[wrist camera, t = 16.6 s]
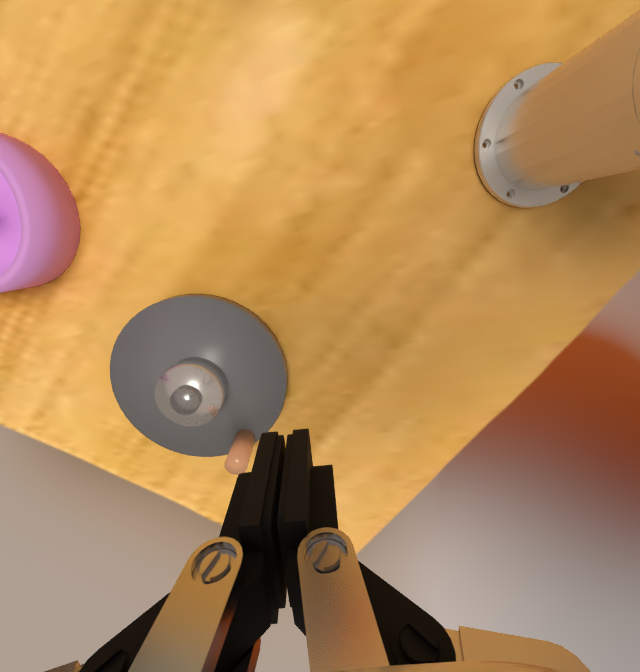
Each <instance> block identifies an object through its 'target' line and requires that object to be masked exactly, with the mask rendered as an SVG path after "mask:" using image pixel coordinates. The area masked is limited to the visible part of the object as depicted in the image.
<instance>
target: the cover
mask: <svg viewBox="0 0 640 672" xmlns="http://www.w3.org/2000/svg"><path fill="white" fill-rule="evenodd" d="M227 393H228V382H227V378H226V376H225V374H224V373H223V371H222V370H221V369H220V368H219V367H218V366H217V365H216V364H215V363H213V362H212V361H210V360H207V359H204V358H200V357H189V358H185V359H182V360H180V361H178V362H177V363H176V364H174V365H173V366H172V367H171V368H170V369H169V370H168V371H167V372H166V373H165V374H163V375H162V376H161V378H160V379H159V380H158V382H157V384H156V387H155V400H156V403H157V406H158V408H159V409H160V411H161V412H162V413H163V414H164V416H166V417H167V418H168V419H169V420H171V421H173V422H175V423H177V424H180V425H183V426H199V425H203V424H205V423H207V422H209V421H210V420H212V419H213V418H214V417H215V416H216V414H217V413H218V411H219V409H220V408H221V406H222V404H223V402H224V400H225V398H226V396H227Z"/></svg>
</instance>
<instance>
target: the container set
mask: <svg viewBox="0 0 640 672" xmlns="http://www.w3.org/2000/svg"><path fill="white" fill-rule="evenodd" d="M79 241H80V220H79V213H78V209H77V206H76V203H75V200H74V197H73V195H72V193H71V191H70V189H69V187H68V185H67V183H66V182H65V180H64V179H63V177H62V176H61V175H60V173H59V172H58V170H57V169H56V168H55V167H54V166H53V165H52V164H51V163H50V162H49V161H48V160H47V159H46V158H45V157H44V156H43V155H42V154H40V153H39V152H38V151H36V150H35V149H34V148H32V147H31V146H30V145H28V144H26V143H24V142H22V141H20V140H18V139H16V138H14V137H11V136H8V135H5V134H2V133H0V293H1V292H7V291H13V290H18V289H24V288H30V287H36V286H40V285H43V284H46V283H48V282H51V281H52V280H54V279H55V278H57V277H59V276H60V275H61V274H62V273H63V272H64V271H65V270H66V269H67V268H68V267H69V266H70V264H71V262H72V261H73V259H74V257H75V255H76V252H77V249H78V246H79Z"/></svg>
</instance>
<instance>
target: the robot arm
mask: <svg viewBox="0 0 640 672" xmlns="http://www.w3.org/2000/svg"><path fill="white" fill-rule="evenodd" d="M514 86H515V88H514ZM482 144H484V148H483V146H482ZM474 153H475V163H476V167H477V171H478V174H479V177H480V179H481V181H482V182H483V184H484V186H485V187H486V189H487V190H488V191H489V192H490V193H491V194H492V195H493V196H494V197H495V198H497V199H498V200H499V201H501V202H503V203H505V204H507V205H510V206H514V207H519V208H532V207H539V206H544V205H547V204H551V203H553V202H555V201H557V200H559V199H561V198H563V197H565V196H566V195H568V194H569V193H571V192H572V191H573V190H575V189H576V188H577V187H578V186H579V185H580V184H581V183H582V182H583V181H586V180H591V179H596V178H600V177H605V176H610V175H615V174H619V173H624V172H629V171H633V170H638V169H640V10H639V11H637V12H636V13H635V14H633V15H632V16H630V17H629V18H627V19H626V20H625V21H623V22H622V23H620V24H619V25H617V26H616V27H615V28H613V29H612V30H610V31H609V32H607V33H606V34H605V35H603V36H602V37H600V38H599V39H597V40H596V41H595V42H593V43H592V44H590V45H589V46H587V47H586V48H584V49H583V50H582V51H580V52H579V53H577V54H576V55H574V56H573V57H572V58H570V59H569V60H567V61H566V62H564V63H544V64H540V65H536V66H533V67H531V68H529V69H526V70H524V71H522V72H521V73H519V74H518V75H517V76H515V77H514V78H512V79H511V80H510V81H508V82H507V83H506V84H505V85H504V86H503V87H501V89H500V90H499V91H498V92H497V93H496V94H495V95H494V97H493V98H492V99H491V101H490V102H489V104H488V105H487V107H486V109H485V110H484V113H483V115H482V117H481V120H480V122H479V125H478V129H477V133H476V137H475V148H474ZM507 193H508V196H507ZM287 590H288V596H289V602H290V607H292V610H293V616H294V622H295V625H296V626H297V627H298V628H299V629H300V630H301V631H302V632H303V634H304V635H305V636H306V638H307V647H308V655H309V664H310V672H590V670H589V669H588V668H587V667H586V666H585V665H584V664H583V663H582V662H581V661H580V660H579V658H578V657H577V656H575V655H574V654H573V653H571V652H570V651H568V650H567V649H565V648H564V647H562V646H560V645H557V644H554V643H551V642H548V641H543V640H537V639H532V638H526V637H520V636H514V635H509V634H503V633H497V632H492V631H486V630H479V629H474V628H469V627H463V626H459V631H456V630H450V629H444V627H443V626H442V625H441V624H439V622H437V621H436V620H435V619H434V618H433V617H432V616H430V615H429V614H428V613H426V612H425V611H424V610H422V609H421V608H420V607H419V606H417V605H416V604H415V603H413V602H412V601H411V600H409V599H408V598H407V597H405V596H404V595H403V594H401V593H400V592H399V591H397V590H396V589H394V588H393V587H392V586H391V585H389V584H388V583H387V582H385V581H384V580H383V579H381V578H380V577H379V576H378V575H376V574H375V573H373V572H372V571H371V570H370V569H368V568H367V567H366V566H364V565H363V564H362V563H360V562H359V561H358V560H357V557H356V553H355V550H354V547H353V544H352V542H351V540H350V538H349V537H348V536H347V535H346V534H345V533H344V532H342V531H340V530H338V521H337V510H336V499H335V488H334V477H333V467H332V465H324V466H313V462H312V454H311V445H310V436H309V429H299V430H293V434H290V435H288V436H287V443H286V448H285V440H284V436H283V435H278V432H267V433H262V434H261V437H260V441H259V445H258V449H257V453H256V457H255V460H254V464H253V468H252V472H248V473H240V474H239V476H238V478H237V481H236V484H235V488H234V491H233V494H232V497H231V500H230V504H229V507H228V510H227V513H226V516H225V520H224V523H223V526H222V529H221V532H220V536H219V537H218V538H215V539H212V540H209V541H207V542H205V543H204V544H203V545H201V546H200V547H198V548H197V549H196V550H195V551H194V552H193V554H192V555H191V556H190V558H189V559H188V561H187V563H186V564H185V567H184V568H183V570H182V572H181V574H180V576H179V577H178V579H177V581H176V583H175V585H174V587H173V589H172V590H171V592H170V593H169V594H167V595H166V596H165V597H163V598H162V599H161V600H160V601H158V602H157V603H156V604H155V605H153V606H152V607H151V608H150V609H149V610H147V611H146V612H145V613H143V614H142V615H141V616H140V617H138V618H137V619H136V620H135V621H133V622H132V623H131V624H130V625H128V626H127V627H126V628H125V629H123V630H122V631H121V632H120V633H118V634H117V635H116V636H115V637H114V638H112V639H111V640H110V641H109V642H107V643H106V644H105V645H104V646H102V647H101V648H100V649H99V650H98V651H97V652H96V653H94V654H93V655H92V656H91V657H90V658H89V659H88V660H87V661H86V663H85V664H82V665H80V664H79V662H78V661H74V662H71V663H68V664H65V665H62V666H59V667H57V668H53V669H51V670H48V671H45V672H255V668H256V664H257V660H258V656H259V652H260V644H261V638H260V637H261V636H262V635H263V634H264V633H265V632H266V630H267V629H268V628H269V627H270V625H271V624H276V623H277V621H278V610H279V608H285V605H286V592H287Z"/></svg>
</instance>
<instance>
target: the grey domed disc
mask: <svg viewBox="0 0 640 672" xmlns="http://www.w3.org/2000/svg"><path fill="white" fill-rule="evenodd" d="M189 357H200V358H204V359H207V360H210V361H212V362H213V363H215V364H216V365H217V366H218V367H219V368H220V369H221V370H222V371H223V373H224V374H225V376H226V378H227V382H228V393H227V396H226V398H225V400H224V402H223V404H222V406H221V408H220V409H219V411H218V413H217V414H216V416H215V417H214V418H213V419H212V420H210V421H209V422H207V423H205V424H203V425H199V426H183V425H180V424H177V423H175V422H173V421H171V420H169V419H168V418H167V417H166V416H164V414H163V413H162V412H161V411H160V409H159V408H158V406H157V403H156V400H155V387H156V384H157V382H158V380H159V379H160V378H161V376H162V375H163V374H165V373H166V372H167V371H168V370H169V369H170V368H171V367H172V366H173V365H174V364H176V363H177V362H178V361H180V360H182V359H185V358H189ZM110 379H111V384H112V389H113V392H114V395H115V398H116V400H117V402H118V404H119V406H120V408H121V410H122V411H123V413H124V414H125V416H126V417H127V418H128V420H129V421H130V422H131V423H132V424H133V426H134V427H136V428H137V429H138V430H139V431H140V432H141V433H142V434H143V435H145V436H146V437H147V438H149V439H150V440H152V441H153V442H155V443H157V444H158V445H160V446H162V447H165V448H167V449H169V450H172V451H175V452H178V453H181V454H186V455H190V456H199V457H214V456H222V455H227V454H228V456H227V459H226V461H225V468H226V470H227V471H228V472H230V473H231V474H235V475H238V474H240V473H244V472H245V471H246V469H247V466H248V463H249V459H250V456H251V452H252V449H253V445H254V443H255V442H256V441H258V440H259V439H260V437H261V434H262V433H267V432H268V431H269V429H270V428H271V427H272V426H273V424H274V423H275V421H276V420H277V418H278V416H279V414H280V412H281V409H282V407H283V403H284V399H285V394H286V388H287V367H286V361H285V358H284V354H283V351H282V349H281V347H280V345H279V342H278V341H277V339H276V337H275V336H274V334H273V333H272V331H271V330H270V329H269V328H268V326H267V325H266V324H265V323H264V322H263V321H262V320H261V319H260V318H259V317H258V316H256V315H255V314H254V313H252V312H251V311H250V310H248V309H247V308H245V307H243V306H241V305H239V304H238V303H235V302H233V301H230V300H228V299H225V298H222V297H218V296H214V295H206V294H186V295H179V296H175V297H171V298H168V299H165V300H163V301H160V302H158V303H156V304H153V305H151V306H149V307H147V308H146V309H144V310H142V311H141V312H139V313H138V314H137V315H136V316H134V317H133V318H132V319H131V320H130V321H129V322H128V323H127V324H126V325H125V327H124V328H123V329H122V331H121V333H120V334H119V336H118V338H117V340H116V342H115V344H114V347H113V351H112V354H111V361H110Z"/></svg>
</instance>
